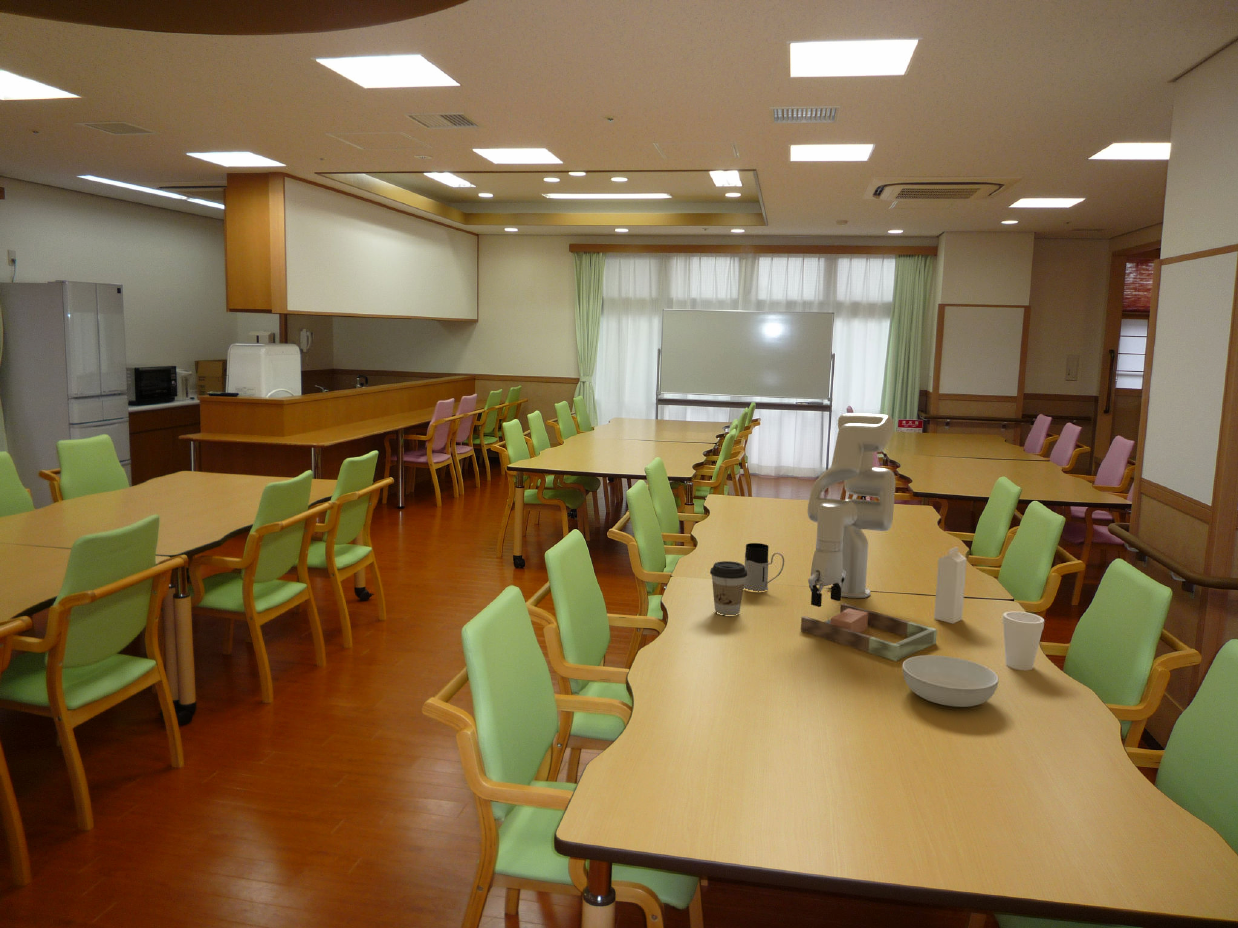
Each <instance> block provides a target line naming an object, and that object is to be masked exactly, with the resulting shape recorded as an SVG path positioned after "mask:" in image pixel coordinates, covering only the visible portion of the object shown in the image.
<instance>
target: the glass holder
mask: <svg viewBox="0 0 1238 928" xmlns="http://www.w3.org/2000/svg"><path fill="white" fill-rule="evenodd" d="M776 555H779V556H781V558H782V564H781V569H780V570H779V572H778V573H777V575H776V576H774V577H773V578H771V579H770V580H769V579H768V578H769V565H772V564H773V560H774V556H776ZM784 566H785V557H784V555H783V554H782V553H780V552H775V553H773V554H772V555H771V558H770V562H769V545H768V544H765V543H762V542H761V543H759V542H749V543H746V544H745V552H744V567H745V569H746V570H747V576H746V577H745V583H744V588H745V589H748V590H753V591H758V592H759V591H765V590H768V589H769V586H768V585H769V583H770V582H772V581H774V580H775V579H776V578H778V577H779V576H780V575H781V574H782V571H783V569H784Z"/></svg>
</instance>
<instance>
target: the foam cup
mask: <svg viewBox="0 0 1238 928" xmlns="http://www.w3.org/2000/svg"><path fill="white" fill-rule="evenodd" d="M1001 624H1002V625H1003V641H1004V642H1003V643H1004V658H1005V660H1004V661H1005V666H1007V667H1009V668H1011V669H1014V670H1019V671H1031V670H1032V669H1033V668H1034V665H1035V661H1036V656H1037V653H1038V648H1039V645H1040V640H1041V636H1042V633H1043V630H1044V628H1045V627H1044V626H1045V619H1044V618H1043V617H1042V616H1040V615H1038V614H1036V613H1035V614H1034V613H1030V612H1025V611H1019V610H1018V611H1016V610H1015V611H1006V612H1004V613H1003V614H1002V623H1001Z"/></svg>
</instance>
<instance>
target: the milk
mask: <svg viewBox="0 0 1238 928" xmlns="http://www.w3.org/2000/svg"><path fill="white" fill-rule="evenodd" d="M967 560H968V559H967V558H966V557H965V556H964V555H962V553H960V552H959V547H958V546H956V547H952V548H951V549H948V554H947V555H944V556H942V557H938V562H937V575H936V585H935V587H936V589H935V601H934V614H933V615H934V617H933V619H934V620H937V621H940V622H945V623H949V624H956V623H957V622H960V621H962V620H963V610H964V598H965V586H966V574H967V573H966V572H967Z"/></svg>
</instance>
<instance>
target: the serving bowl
mask: <svg viewBox="0 0 1238 928" xmlns="http://www.w3.org/2000/svg"><path fill="white" fill-rule="evenodd" d="M902 675H903V678H904V681H905V683H906V684H907V685H906V686H908V688H909V689H910V690H911V691H912V692H914V693H915V694H916V695H917V696H919V697H920V698H923V699H924V700H926V701H929V702H931V703H933V704H934V703H935V704H939V705H943V706H946V707H947V706H948V707H960V708H966V707H975V706H978V705H981V704H984V703H985V702H987V701H988V700H990V699H991V698H992V697H993V695H994V694H995V693H996V691H997V688H998V685H999V676H998V674H997V673H996V672H995V671H994V670H992V669H990V668H989V667H987V666H985V665H983V664H980V663H977V662H975V661H971V660H968V659H965V658H964V659H963V658H959V657H955V656H946V655H932V654H930V655H929V654H928V655H917V656H912V657H909V658H907V659H906V660H904V661H903V662H902Z"/></svg>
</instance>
